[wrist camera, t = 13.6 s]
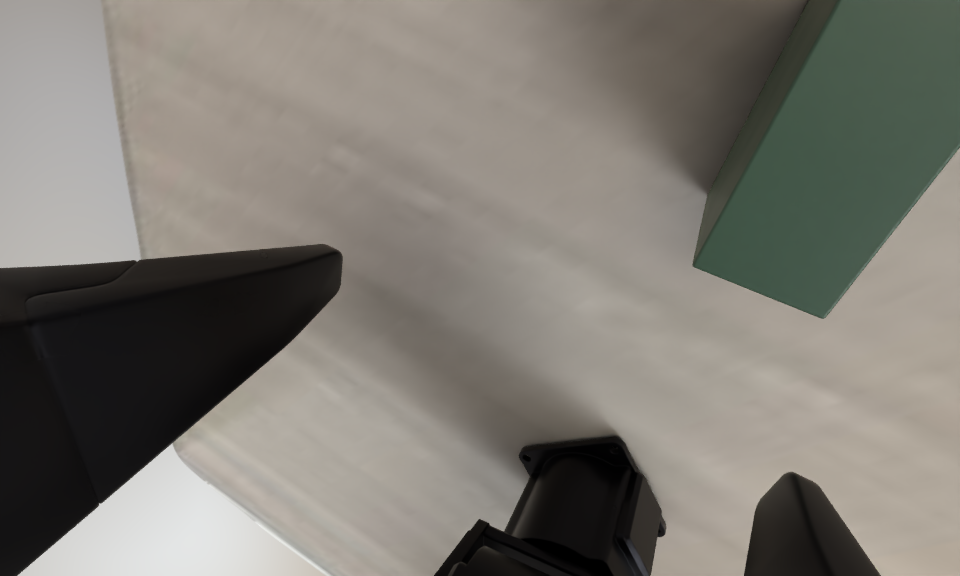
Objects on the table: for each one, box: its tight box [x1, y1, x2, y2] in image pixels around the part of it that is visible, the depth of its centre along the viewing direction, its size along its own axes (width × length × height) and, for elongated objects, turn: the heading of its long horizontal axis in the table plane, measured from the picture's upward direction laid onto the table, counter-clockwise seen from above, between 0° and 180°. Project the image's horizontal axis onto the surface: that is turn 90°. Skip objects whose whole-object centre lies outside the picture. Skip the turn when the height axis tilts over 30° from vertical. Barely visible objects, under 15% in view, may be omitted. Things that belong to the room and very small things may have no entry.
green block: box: [693, 0, 960, 319], centre depth 13 cm, size 7×3×7 cm, turn 166°
